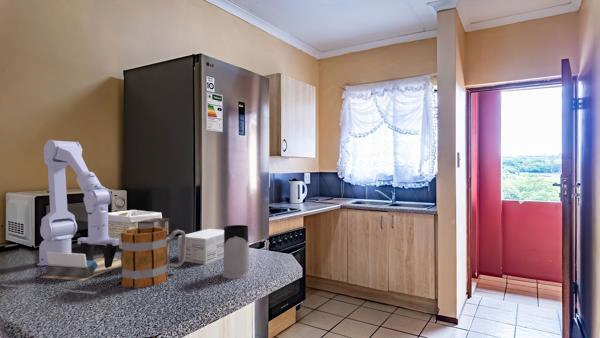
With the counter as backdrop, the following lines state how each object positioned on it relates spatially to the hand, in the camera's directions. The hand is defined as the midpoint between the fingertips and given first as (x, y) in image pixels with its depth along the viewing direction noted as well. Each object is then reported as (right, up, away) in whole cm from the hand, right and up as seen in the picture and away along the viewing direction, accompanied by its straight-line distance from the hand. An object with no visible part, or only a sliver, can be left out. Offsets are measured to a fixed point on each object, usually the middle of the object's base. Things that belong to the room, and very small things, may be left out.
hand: (98, 266), depth 116 cm
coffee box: (+16, -2, +6) cm, 17 cm away
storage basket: (-8, -2, +39) cm, 40 cm away
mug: (+22, -2, -8) cm, 24 cm away
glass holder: (+46, -1, -2) cm, 46 cm away
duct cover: (-5, +4, -7) cm, 10 cm away
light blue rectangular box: (-4, 0, -1) cm, 4 cm away
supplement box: (+31, -2, +18) cm, 36 cm away
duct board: (-3, -2, +2) cm, 4 cm away
